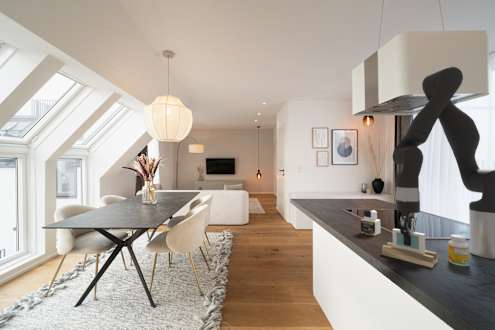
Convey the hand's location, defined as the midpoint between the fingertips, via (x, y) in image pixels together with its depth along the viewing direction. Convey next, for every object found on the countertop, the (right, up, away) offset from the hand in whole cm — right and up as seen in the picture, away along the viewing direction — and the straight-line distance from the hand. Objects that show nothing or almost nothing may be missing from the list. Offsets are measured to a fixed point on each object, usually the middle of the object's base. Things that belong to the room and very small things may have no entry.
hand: (408, 244), depth 88 cm
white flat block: (0, -3, 0) cm, 3 cm away
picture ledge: (0, -5, 0) cm, 5 cm away
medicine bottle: (+3, -6, +32) cm, 33 cm away
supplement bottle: (+14, -5, -5) cm, 16 cm away
